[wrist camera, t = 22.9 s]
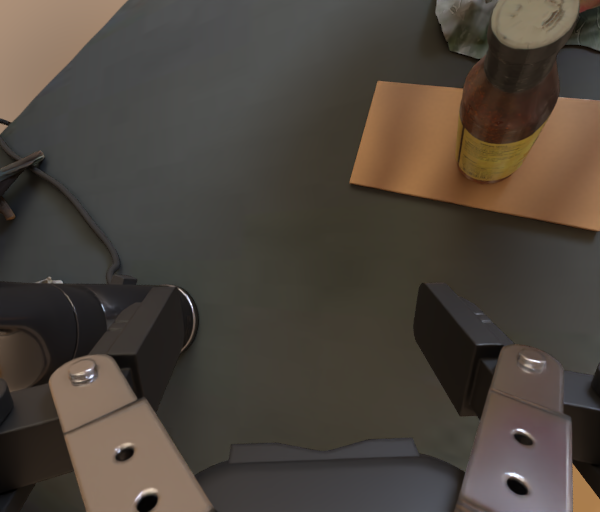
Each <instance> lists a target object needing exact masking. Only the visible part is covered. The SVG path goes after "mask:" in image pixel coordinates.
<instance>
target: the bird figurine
mask: <svg viewBox="0 0 600 512" xmlns="http://www.w3.org/2000/svg"><path fill="white" fill-rule="evenodd" d="M43 159H44V155H43V152H42V151H38V152H35V153H33V154H30V155H28V156H27V157H25V158H22V159H20V160H18V161H16V162H14V163H12V164H9V165H7V166H5V167H3V168H0V213H2V214H3V215H4V217H5V219H6V220H12V219H14V218H15V214H14V213H13V211H12V210H11V208H10V207H9V205H8V204H7V202H6V201H5V200H4V198H3V197H2V195H3V194H4V192H5V191H6V190H7V189H8V188H9V187H10V185H11V184H12V183H13V182H14V181H15V180H16V179H17V178H18V176H19V175H20V174H21V173H22V172H23V171H24V170H25V168H27V167H29V166H31V165H33V164H37V163H39V162H41V160H43Z"/></svg>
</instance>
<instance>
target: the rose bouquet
mask: <svg viewBox="0 0 600 512" xmlns="http://www.w3.org/2000/svg"><path fill="white" fill-rule="evenodd" d="M497 2H498V0H437V5H436V11H435V14H436V15H437V17H438V22H439V24H441V27H442V29H443V30H442V32H443V33H444V36H445V38H446V39H445V40H446V41H448V46H449V50H450V51H452V52H456V53H461V54H464V55H467V56H471V57H473V58H476V59H482V58H483V57H484V56H485V55H486V53H487V51H488V47H489V44H488V41H487V31H488V26H489V22H490V18H491V14H492V10H493V8H494V7H495V5H496V3H497ZM579 2H580V11H579V17H578V19H577V21H576V25H575V27H574V29H573V32H572V34H571V36H570V38H569V39H568V41H567V42H566V44H565V45H584V46H587V47H589V48H592V49H595V50H598V51H600V0H579Z"/></svg>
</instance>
